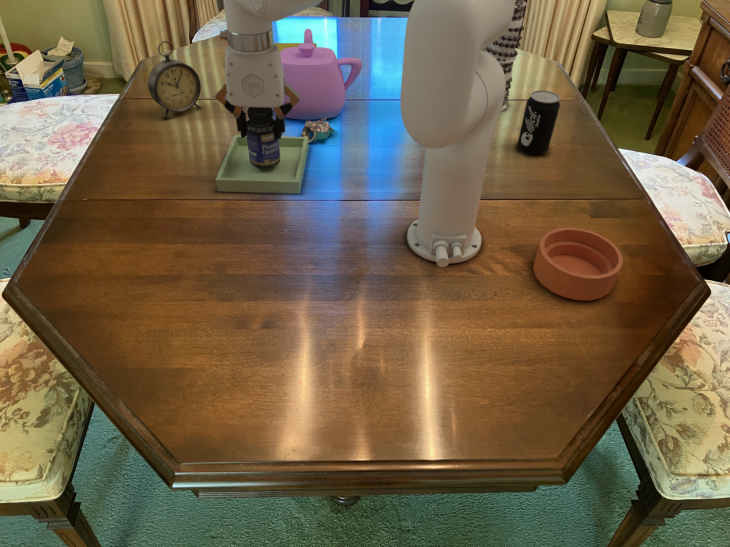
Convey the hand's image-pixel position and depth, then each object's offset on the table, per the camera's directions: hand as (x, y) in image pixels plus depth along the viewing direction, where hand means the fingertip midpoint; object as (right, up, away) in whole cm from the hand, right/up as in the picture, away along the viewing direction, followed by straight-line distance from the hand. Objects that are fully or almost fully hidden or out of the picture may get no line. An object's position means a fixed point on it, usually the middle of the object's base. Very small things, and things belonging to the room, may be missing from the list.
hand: (262, 134), depth 106 cm
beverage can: (+56, 0, +13) cm, 58 cm away
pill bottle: (0, -5, +4) cm, 6 cm away
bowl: (+53, -27, -17) cm, 62 cm away
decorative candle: (+50, +15, +30) cm, 60 cm away
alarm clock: (-24, +11, +23) cm, 35 cm away
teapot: (+6, +13, +26) cm, 30 cm away
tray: (0, -6, +5) cm, 8 cm away
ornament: (+9, +3, +16) cm, 18 cm away
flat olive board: (-6, +34, +49) cm, 60 cm away
